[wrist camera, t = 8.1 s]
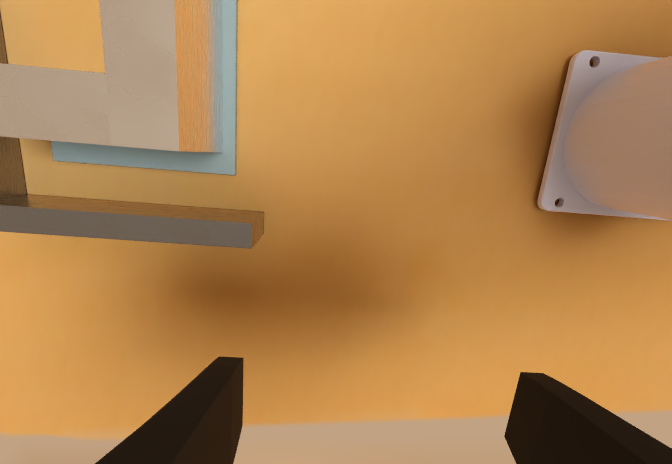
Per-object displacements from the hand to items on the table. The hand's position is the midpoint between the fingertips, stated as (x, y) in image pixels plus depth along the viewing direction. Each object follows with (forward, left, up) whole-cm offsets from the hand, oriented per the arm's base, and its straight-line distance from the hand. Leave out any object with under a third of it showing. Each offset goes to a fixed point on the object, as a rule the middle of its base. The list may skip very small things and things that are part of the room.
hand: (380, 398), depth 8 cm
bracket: (+11, -10, -10) cm, 18 cm away
